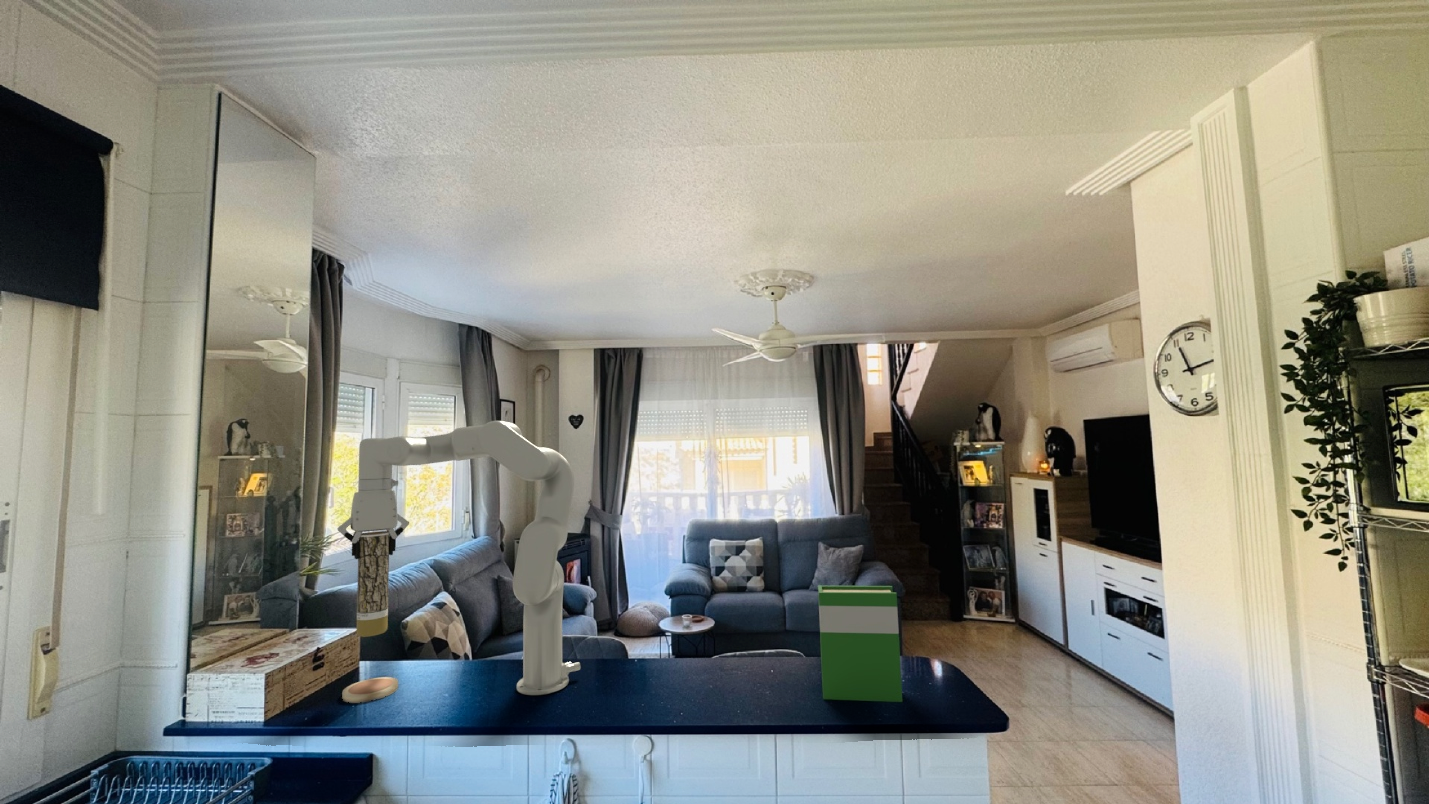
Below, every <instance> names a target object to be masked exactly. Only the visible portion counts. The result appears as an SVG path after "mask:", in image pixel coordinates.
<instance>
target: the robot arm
mask: <svg viewBox="0 0 1429 804" xmlns="http://www.w3.org/2000/svg"><path fill="white" fill-rule="evenodd" d="M523 436H524V435H523V433H522V430H521V428H519V426H518V425H516V424H515V423H514V422H509V421H504V420H491V421H488V422H486V423H485V424H480V425H479V424H478V425H473V426H470V425H469V426H464V427H463V426H462V427H456V428H455V429H453V431H452V432H449V433H445V434H444V433H443V434H437V435H430V436H418V437H417V436H403V435H402V436H393V437H388V438H385V437H382V438H381V437H380V438H379V437H373V438H372V437H371V438H363V439H362V440H361V441H360V442H359V447H358V449H359V450H358V456H359V457H358V481H357V483H358V488H357V489H358V490H357V491H356V492H354V494H353V498H352V503H351V511H350V512H351V513H350V517H349V518H348V519H347V520H345V521H344V522H343V523H342V524H340V525H339V526H338V527H337V529H336V530H337V531H338V532H339V533H340V534H341V535H343V536H344V538H346V539H347V540H348V541H349V542H351V556H352V557H353V556H354V559H355V560H358V559H359V556H360V543H359V537H360V536H361V534H362V533H366V532H376V531H388V532H389V556H393V555H394V552H396V542H397V541H396V539H398V537H399V536H400V535H401V534H402V533H403V532H404V530H405V529H406V528H407V527H408V526H409V525H410V521H408V520H407V519H406V518H404V517H403V516H402V515H400V514H399V513H398V502H397V497H396V496H397V495H396V491H395V490H393V488H394V487H396V486H397V487H398V486H399V480H395V479H393V466H395V467H396V466H397V467H398V466H399V467H400V466H403V467H405V466H407V467H408V466H423V465H429V464H437V463H445V462H450V461H451V462H452V461H465V460H475V459H481V458H489V457H491V458H492V459H494V460H495V461H496V462H498V463H499V464H500V465H502V466H503V467H505V468H506V469H507V470H508V471H510V472H511V473H512V474H514V475H516V476H517V477H518V478H520V479H522V480H524V481H527V482H537V481H540V482H541V489H540V492H539V495H538V499H537V507H536V511H535V512H536V513H535V517H534V520H533V521H531V522H530V523H528V524H527V526H526V527H525V528H524V529H523V530H522V533H521V535H520V538H519V542H518V548H517V553H516V559H515V560H516V561H515V565H514V566H515V567H514V571H513V577H512V590H513V593H514V596H515V597H516V599H517V600H518V601H519V602H520V603H521V604H523V615H522V616H523V618H522V619H523V620H522V621H523V622H522V623H523V624H522V625H523V627H522V629H523V630H522V631H523V632H522V635H523V636H522V637H523V641H522V642H523V643H522V645H523V646H522V648H523V649H522V650H523V651H522V652H523V654H522V656H523V658H522V659H523V660H522V663H523V665H522V667H523V668H522V671H523V673H522V675H523V677H522V678H520V679H519V680H518V682H517V683H516V691H517V692H518V693H520V694H522V695H527V696H543V695H548V694H552V693H555V692H558V691H560V690H562V689H564V688H565V687H566V686H568V684H569V681H570V679H569V674H570V673H571V672H576V671H580V670H581V663H580V662H579V661H578V662H574V663H572V662H571V661H569V662H568V661H567V662H563V600H564V599H563V597H564V587H565V586H564V585H565V575H564V570H563V567H562V565H561V564H560V562H559V561H558V559H557V558H558V553H559V551H560V550H561V549H562V548H563V547H564V546H565V544H566V542H567V538H568V535H569V534H568V533H569V532H568V531H569V524H570V518H571V511H572V503H573V502H572V501H573V496H574V489H575V487H574V486H575V476H574V472H573V469H572V466H571V464H570V462H569V461H568V460H567V459H566V457H564V456H563V455H562V454H561V453H560V452H558V451H557V450H554V449H552V448H549V447H543V446H542V447H541V446H536V445H535V444H533V443H532V442H530V441H529V440H527V439H526V438H525V437H523ZM398 522H399V523H400V525H399V527H397V526H398ZM348 527H350V530H352V531H353V534H351V533H350V532H349V531H348V530H347V528H348ZM396 527H397V528H396ZM395 528H396V529H395Z"/></svg>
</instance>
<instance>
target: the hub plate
mask: <svg viewBox="0 0 1429 804" xmlns="http://www.w3.org/2000/svg"><path fill="white" fill-rule="evenodd" d="M398 689H399V679H397V678H395V677H390V676H383V677H373V678H368V679H363V680H361V681H358V682H355V683H351V684H350V685H348V686H346V687H344V689H343V690H342V693H341V694H342V697H341V699H343V700H342V701H343V702H345V703H348V702H349V703H350V704H360V702H362V703H367V702H368V703H369V702H372V701H371V700H373V701H375V700H374V699H377V700H380V699H383V698H386V697H388V696H391V695H392V694H394V693H395V692H397V690H398ZM385 696H386V697H385Z"/></svg>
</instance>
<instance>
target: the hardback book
mask: <svg viewBox="0 0 1429 804" xmlns="http://www.w3.org/2000/svg"><path fill="white" fill-rule="evenodd" d="M817 590H818V613H819V615H818V616H819V617H818V618H819V634H820V640H819V641H820V661H821V663H820V664H821V681H822V684H821V685H822V700H833V701H834V700H835V701H836V700H837V701H860V702H861V701H865V702H866V701H869V702H891V703H893V702H894V703H895V702H896V703H903V688H902V687H903V685H902V669H901V668H902V667H901V652H900V651H901V649H900V635H899V633H900V632H899V631H900V630H899V629H900V628H899V617H898V613H899V611H898V596H897V592H893V591H894V590H893V585H817Z"/></svg>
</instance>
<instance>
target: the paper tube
mask: <svg viewBox="0 0 1429 804" xmlns="http://www.w3.org/2000/svg"><path fill="white" fill-rule="evenodd" d="M358 540H359V543H360V556H359V559H357V593H356V631H355V632H356V636H358V637H363V638H365V637H375V636H378V635H381V634H384V633H386V632H387V630H388V627H389V626H388V625H389V624H388V621H389V619H388V617H389V581H390V580H389V579H390V578H389V576H390V575H389V573H390V572H389V571H390V555H389V532H388V531H387V530H378V531H367V532H362V534H361V536H360V537H359V539H358Z"/></svg>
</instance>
